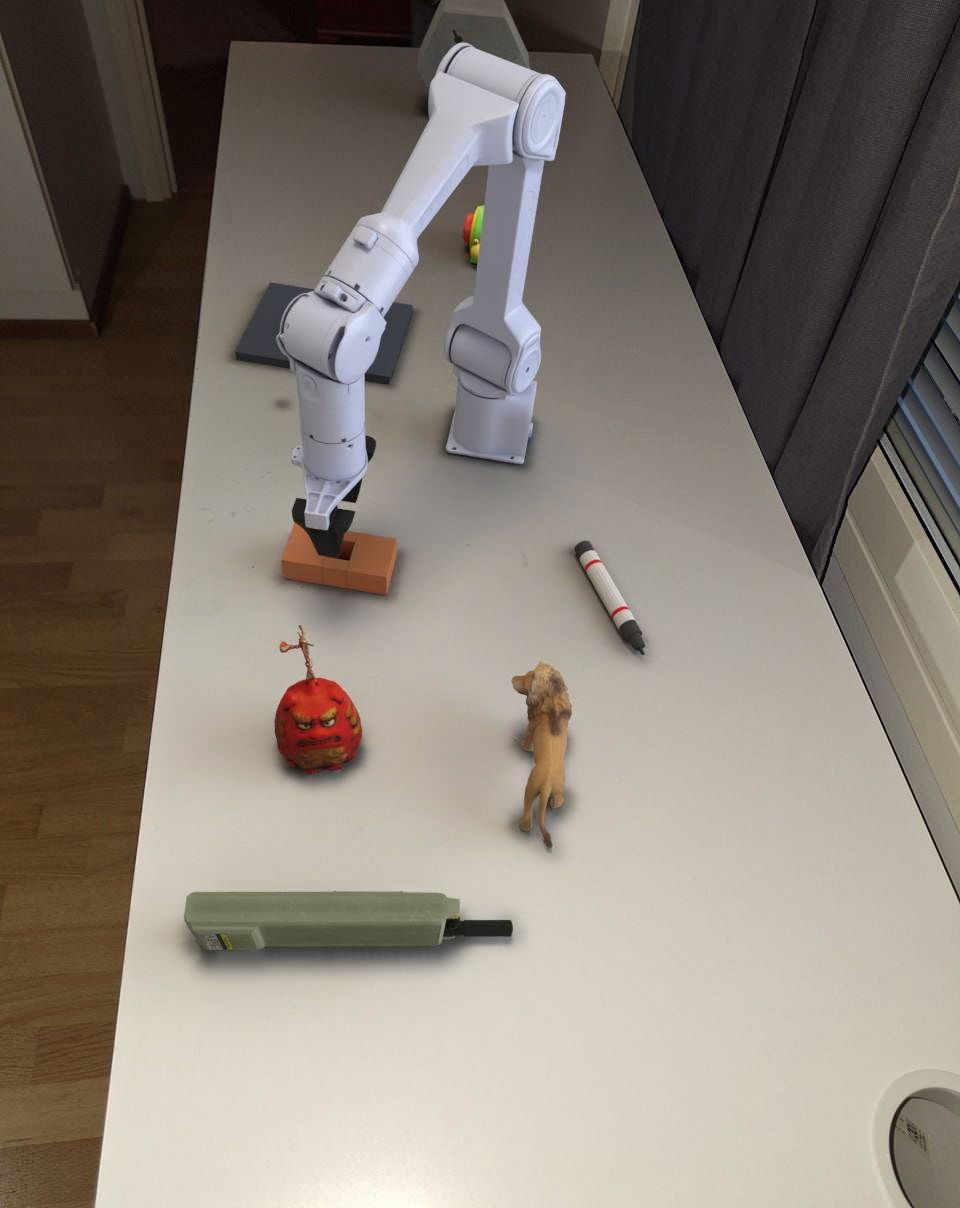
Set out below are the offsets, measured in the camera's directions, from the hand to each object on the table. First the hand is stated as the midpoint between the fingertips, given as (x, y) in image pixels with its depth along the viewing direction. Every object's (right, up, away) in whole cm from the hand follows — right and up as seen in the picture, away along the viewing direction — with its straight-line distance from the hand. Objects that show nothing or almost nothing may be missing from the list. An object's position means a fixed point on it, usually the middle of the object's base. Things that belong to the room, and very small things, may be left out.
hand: (338, 526), depth 91 cm
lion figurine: (+19, -23, -8) cm, 31 cm away
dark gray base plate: (-6, +28, +29) cm, 41 cm away
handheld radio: (+4, -35, -18) cm, 39 cm away
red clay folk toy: (0, -21, -8) cm, 22 cm away
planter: (+12, +81, +72) cm, 109 cm away
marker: (+28, -8, +5) cm, 30 cm away
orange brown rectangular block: (0, -4, +5) cm, 6 cm away
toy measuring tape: (+16, +48, +48) cm, 70 cm away
